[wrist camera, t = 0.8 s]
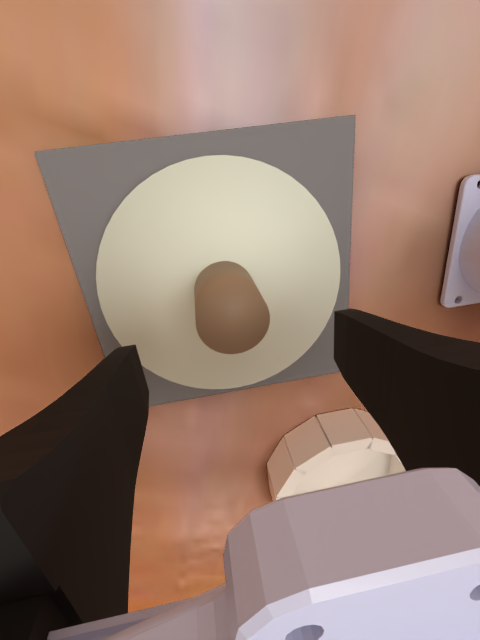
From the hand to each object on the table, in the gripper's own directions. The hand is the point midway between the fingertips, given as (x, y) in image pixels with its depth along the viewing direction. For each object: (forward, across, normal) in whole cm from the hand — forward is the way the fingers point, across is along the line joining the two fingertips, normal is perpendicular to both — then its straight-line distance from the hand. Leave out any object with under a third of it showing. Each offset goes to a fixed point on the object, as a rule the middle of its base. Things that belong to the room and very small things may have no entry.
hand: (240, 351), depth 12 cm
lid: (+8, 0, 0) cm, 8 cm away
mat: (+8, 0, 0) cm, 8 cm away
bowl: (+8, -7, +17) cm, 20 cm away
